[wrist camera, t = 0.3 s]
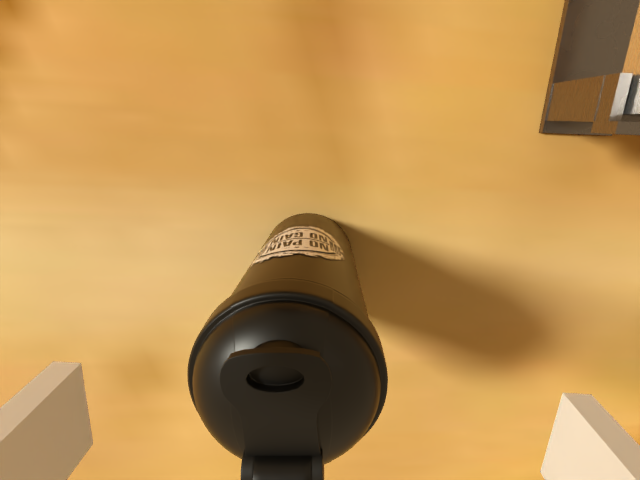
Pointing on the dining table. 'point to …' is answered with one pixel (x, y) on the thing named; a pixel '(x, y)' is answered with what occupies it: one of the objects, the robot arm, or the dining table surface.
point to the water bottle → (291, 357)
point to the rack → (591, 70)
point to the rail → (633, 70)
